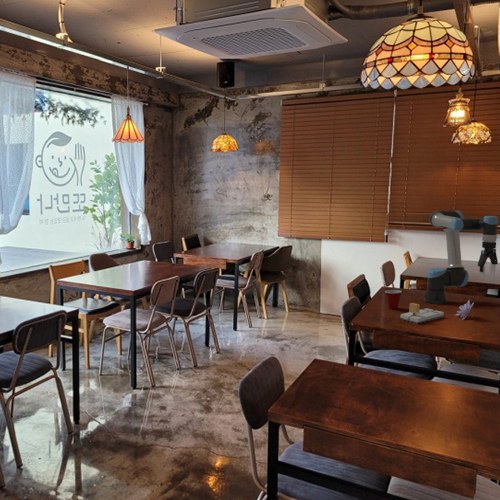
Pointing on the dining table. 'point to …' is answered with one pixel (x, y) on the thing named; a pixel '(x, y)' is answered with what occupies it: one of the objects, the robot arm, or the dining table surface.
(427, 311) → the fader console
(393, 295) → the plastic cup
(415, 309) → the fader knob
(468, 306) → the water lily
